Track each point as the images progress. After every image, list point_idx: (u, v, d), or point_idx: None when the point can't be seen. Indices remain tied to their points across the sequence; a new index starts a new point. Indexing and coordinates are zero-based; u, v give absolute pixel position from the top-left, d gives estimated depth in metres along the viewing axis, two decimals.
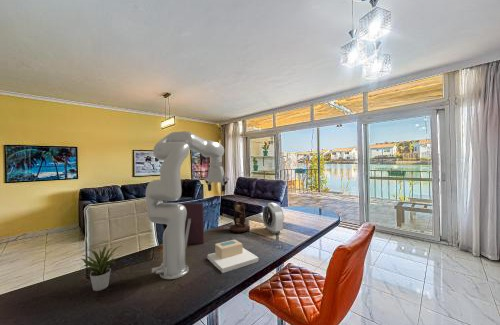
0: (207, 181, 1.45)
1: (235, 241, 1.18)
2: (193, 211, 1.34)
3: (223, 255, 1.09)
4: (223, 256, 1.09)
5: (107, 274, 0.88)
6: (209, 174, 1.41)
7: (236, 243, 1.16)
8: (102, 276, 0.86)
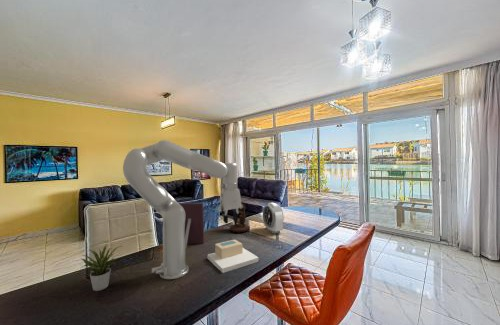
0: (222, 211, 1.10)
1: (235, 241, 1.18)
2: (193, 211, 1.34)
3: (223, 255, 1.09)
4: (223, 256, 1.09)
5: (107, 274, 0.88)
6: (226, 199, 1.09)
7: (236, 243, 1.16)
8: (102, 276, 0.86)
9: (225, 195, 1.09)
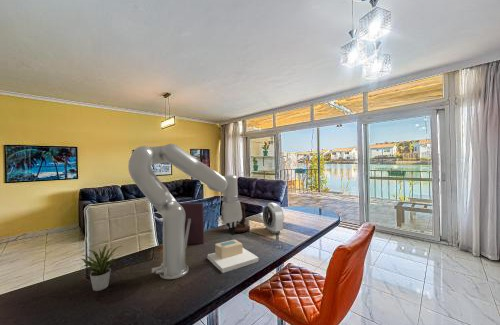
0: None
1: (235, 241, 1.18)
2: (193, 211, 1.34)
3: (223, 255, 1.09)
4: (223, 256, 1.09)
5: (107, 274, 0.88)
6: (227, 212, 1.09)
7: (236, 243, 1.16)
8: (102, 276, 0.86)
9: (226, 208, 1.09)
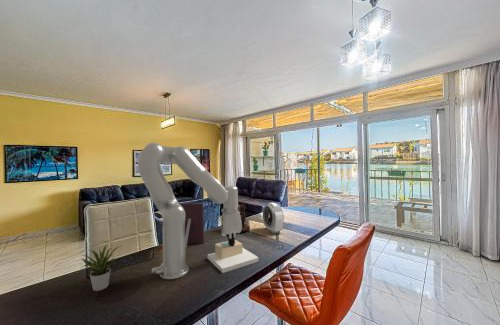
0: None
1: (235, 241, 1.18)
2: (193, 211, 1.34)
3: (223, 255, 1.09)
4: (223, 256, 1.09)
5: (107, 274, 0.88)
6: (227, 224, 1.09)
7: (236, 243, 1.16)
8: (102, 276, 0.86)
9: (226, 219, 1.09)
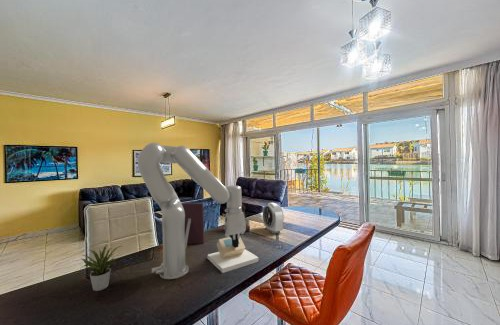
0: None
1: (239, 240, 1.15)
2: (193, 211, 1.34)
3: (224, 256, 1.08)
4: (224, 257, 1.08)
5: (107, 274, 0.88)
6: (231, 224, 1.06)
7: (239, 243, 1.13)
8: (102, 276, 0.86)
9: (229, 220, 1.06)
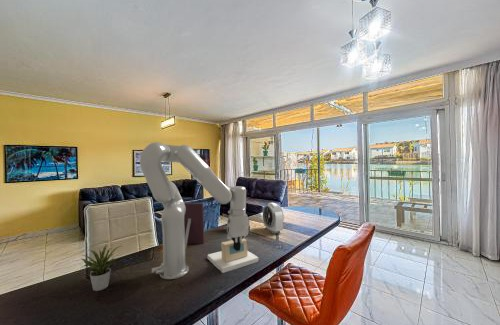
0: None
1: (244, 246, 1.10)
2: (193, 211, 1.34)
3: None
4: None
5: (107, 274, 0.88)
6: (233, 226, 1.02)
7: (243, 250, 1.10)
8: (102, 276, 0.86)
9: (233, 222, 1.02)
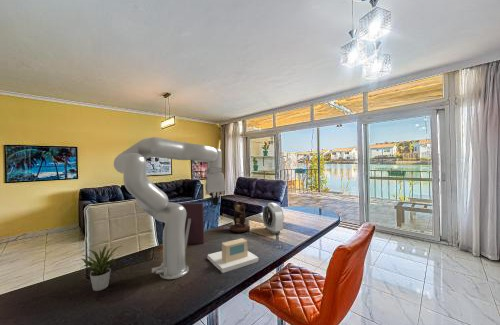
0: None
1: (245, 247, 1.10)
2: (193, 211, 1.34)
3: None
4: None
5: (107, 274, 0.88)
6: (210, 183, 1.15)
7: (244, 251, 1.10)
8: (102, 276, 0.86)
9: (209, 178, 1.15)
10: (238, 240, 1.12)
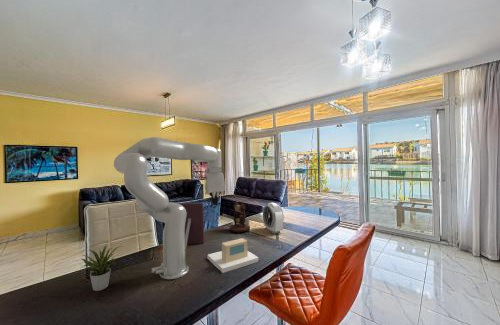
0: (211, 193, 1.18)
1: (245, 247, 1.10)
2: (193, 211, 1.34)
3: None
4: None
5: (107, 274, 0.88)
6: (210, 182, 1.15)
7: (244, 251, 1.10)
8: (102, 276, 0.86)
9: (209, 178, 1.15)
10: (238, 240, 1.12)
